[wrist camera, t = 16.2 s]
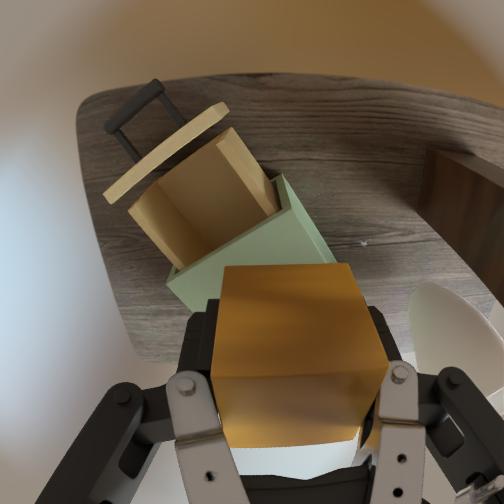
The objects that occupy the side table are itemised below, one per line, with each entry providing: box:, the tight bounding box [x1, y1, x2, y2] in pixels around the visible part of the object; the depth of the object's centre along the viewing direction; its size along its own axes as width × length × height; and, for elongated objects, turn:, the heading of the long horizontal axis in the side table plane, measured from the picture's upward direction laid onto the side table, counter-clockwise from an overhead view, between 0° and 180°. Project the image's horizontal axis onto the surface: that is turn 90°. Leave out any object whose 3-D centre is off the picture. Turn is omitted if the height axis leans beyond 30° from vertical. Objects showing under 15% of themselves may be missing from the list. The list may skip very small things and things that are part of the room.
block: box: [210, 263, 390, 448], centre depth 10 cm, size 5×5×5 cm
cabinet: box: [166, 174, 337, 313], centre depth 32 cm, size 15×13×10 cm
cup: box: [409, 282, 504, 436], centre depth 29 cm, size 10×10×22 cm
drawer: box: [103, 79, 282, 271], centre depth 27 cm, size 18×11×8 cm, turn 34°
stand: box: [417, 148, 504, 307], centre depth 23 cm, size 8×8×18 cm
